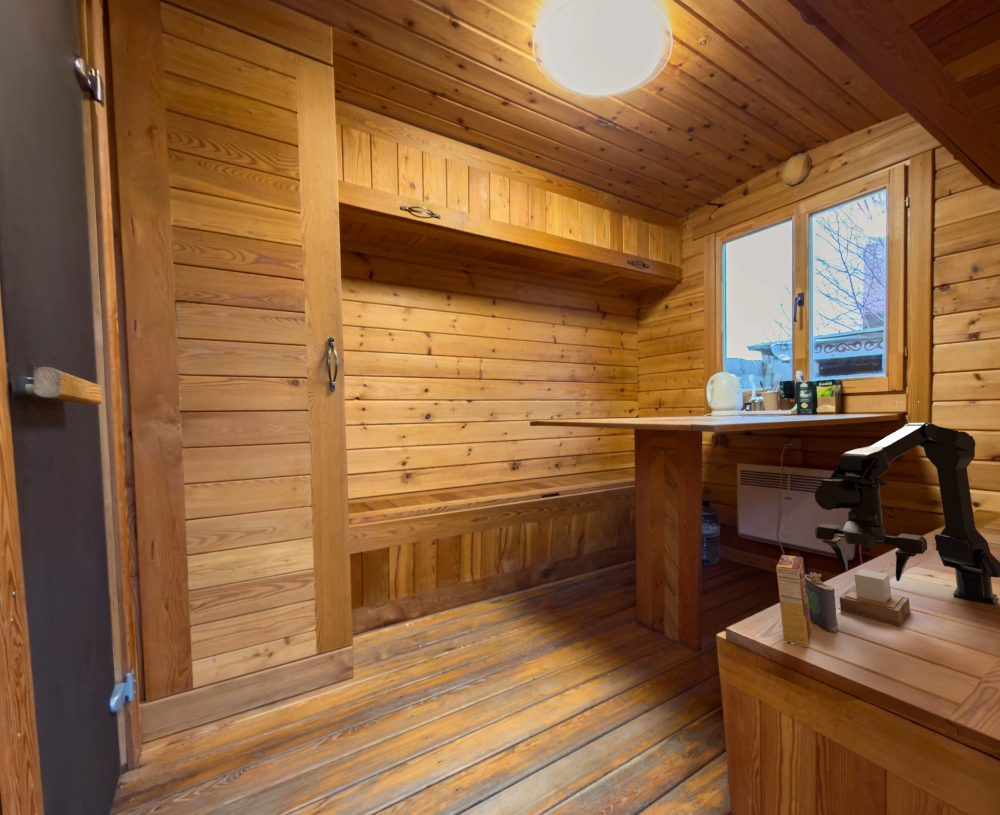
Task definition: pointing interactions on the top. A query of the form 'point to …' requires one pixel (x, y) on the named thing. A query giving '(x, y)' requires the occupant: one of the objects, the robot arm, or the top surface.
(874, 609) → the walnut plinth
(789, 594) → the candy box
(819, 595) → the flask
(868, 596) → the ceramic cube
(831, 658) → the top surface
